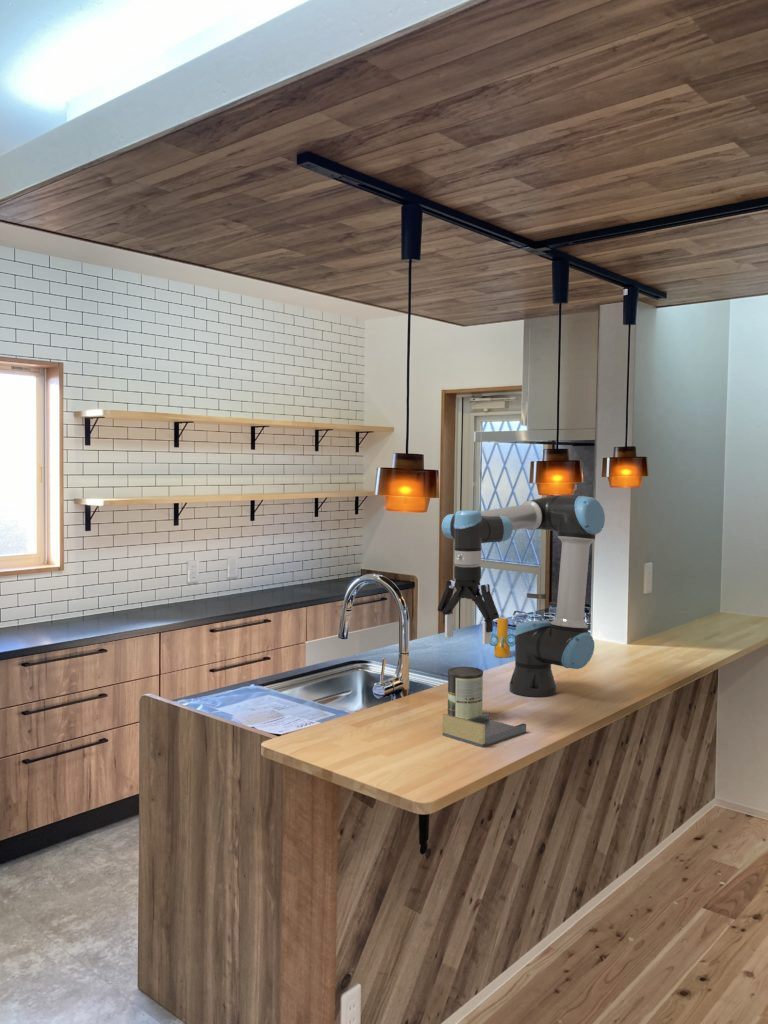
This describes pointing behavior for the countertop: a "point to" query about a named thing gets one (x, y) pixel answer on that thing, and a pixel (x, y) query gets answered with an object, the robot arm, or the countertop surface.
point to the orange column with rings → (502, 639)
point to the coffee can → (465, 692)
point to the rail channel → (479, 730)
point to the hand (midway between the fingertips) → (467, 640)
